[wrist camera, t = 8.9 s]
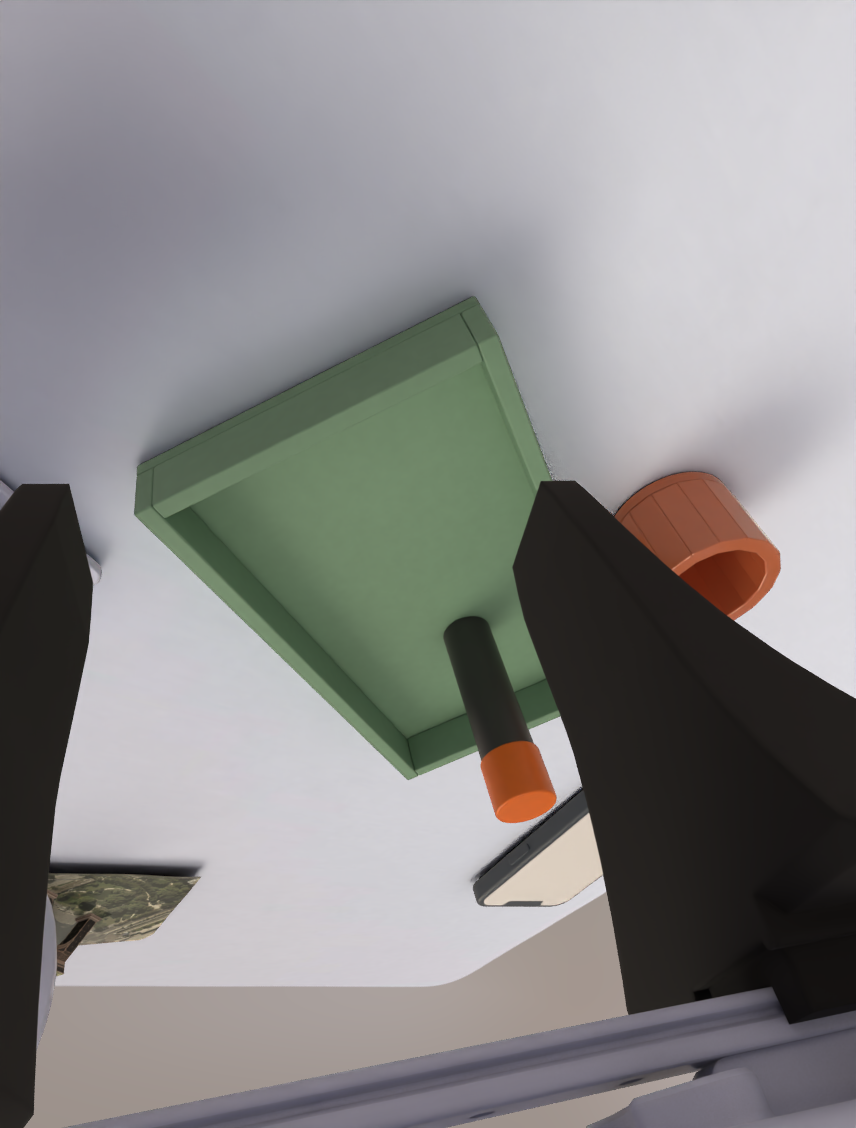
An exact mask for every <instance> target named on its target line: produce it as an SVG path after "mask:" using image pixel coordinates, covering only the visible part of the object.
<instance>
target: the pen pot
mask: <svg viewBox="0 0 856 1128" xmlns="http://www.w3.org/2000/svg"><path fill="white" fill-rule="evenodd" d="M614 517H615V518H616V519H617V520H618V521H619V522H620V523H621V524H622V525H623V526H624V527H625V528H626V529H628V530H629V531H630V532H631V533H632V534H633V535H634V536H635V537H636V538H637V539H638V540H639V541H640V542H641V543H642V544H644V545H645V546H646V547H647V548H648V549H649V550H650V551H651V552H652V553H653V554H654V555H656V556H657V557H658V558H659V559H660V560H661V561H662V562H663V563H664V564H666V565H667V566H668V567H669V568H670V569H671V570H672V571H673V572H675V573H676V574H677V575H678V576H679V577H680V578H682V579H683V580H684V581H685V582H686V583H687V584H689V585H690V586H691V587H692V588H693V589H695V590H696V591H697V592H698V593H700V594H701V595H702V596H703V597H704V598H706V599H707V600H708V601H709V602H711V603H712V604H713V605H714V606H715V607H717V608H718V609H719V610H721V611H722V612H723V613H724V614H726V615H727V616H728V617H730V618H731V619H732V620H736V619H737V618H739V617H740V616H741V615H743V614H744V613H746V612H747V611H749V610H750V609H752V608H753V607H754V606H755V605H756V604H757V603H758V602H759V601H760V600H761V599H762V598H763V597H764V596H765V595H766V594H767V593H768V592H769V591H770V589H771V588H772V587H773V585H774V583H775V581H776V579H777V577H778V575H779V573H780V569H781V565H780V553H779V550H778V549H777V548H776V547H775V545H774V544H773V543H772V542H771V540H770V539H769V538H768V537H767V535H766V534H765V533H764V532H763V530H762V529H761V528H760V527H759V526H758V524H757V523H756V522H755V521H754V519H753V518H752V517H751V516H750V514H749V513H748V512H747V511H746V509H745V508H744V507H743V506H742V504H741V503H740V502H739V501H738V499H737V498H736V497H735V496H734V495H733V494H732V493H731V491H730V490H729V489H728V488H727V487H726V486H725V484H724V483H723V482H722V481H721V480H720V479H718V478H717V477H715V476H713V475H710V474H707V473H702V472H684V473H678V474H674V475H671V476H667V477H665V478H662V479H660V480H657V481H655V482H653V483H651V484H649V485H648V486H646V487H645V488H643V489H641V490H640V491H639V492H637V493H636V494H635V495H633V496H632V497H631V498H630V499H629V500H628V501H627V502H626V503H625V504H624V505H623V506H622V507H621V508H620V509H619V511H618V512H617V513H616V515H615V516H614Z"/></svg>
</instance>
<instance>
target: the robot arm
mask: <svg viewBox="0 0 856 1128" xmlns="http://www.w3.org/2000/svg"><path fill="white" fill-rule="evenodd" d="M512 568H513V573H514V578H515V583H516V587H517V592H518V597H519V601H520V605H521V609H522V613H523V617H524V621H525V623H526V626H527V629H528V632H529V634H530V637H531V640H532V642H533V645H534V648H535V651H536V653H537V656H538V659H539V661H540V664H541V666H542V669H543V672H544V674H545V677H546V679H547V682H548V685H549V687H550V690H551V692H552V695H553V698H554V700H555V703H556V705H557V708H558V711H559V713H560V716H561V719H562V721H563V724H564V726H565V729H566V732H567V735H568V738H569V741H570V744H571V747H572V750H573V753H574V756H575V760H576V764H577V768H578V772H579V775H580V779H581V783H582V787H583V791H584V794H585V798H586V802H587V806H588V810H589V814H590V819H591V823H592V827H593V831H594V836H595V840H596V844H597V848H598V853H599V857H600V862H601V867H602V872H603V876H604V881H605V886H606V891H607V896H608V901H609V906H610V911H611V916H612V921H613V927H614V933H615V939H616V944H617V950H618V956H619V962H620V968H621V974H622V980H623V987H624V993H625V999H626V1007H627V1011H628V1014H629V1015H626V1016H622V1017H616V1018H611V1019H606V1020H602V1021H596V1022H592V1023H586V1024H581V1025H576V1026H571V1027H566V1028H561V1029H556V1030H551V1031H546V1032H541V1033H536V1034H531V1035H526V1036H522V1037H516V1038H511V1039H506V1040H501V1041H496V1042H491V1043H486V1044H481V1045H476V1046H471V1047H466V1048H461V1049H456V1050H451V1051H446V1052H441V1053H436V1054H430V1055H426V1056H420V1057H415V1058H410V1059H406V1060H401V1061H395V1062H390V1063H385V1064H380V1065H375V1066H370V1067H365V1068H360V1069H355V1070H350V1071H345V1072H340V1073H335V1074H330V1075H325V1076H320V1077H315V1078H310V1079H305V1080H300V1081H295V1082H290V1083H285V1084H280V1085H275V1086H270V1087H265V1088H260V1089H255V1090H250V1091H245V1092H240V1093H234V1094H230V1095H225V1096H219V1097H215V1098H210V1099H204V1100H199V1101H194V1102H189V1103H184V1104H180V1105H175V1106H169V1107H164V1108H159V1109H154V1110H150V1111H144V1112H139V1113H134V1114H129V1115H124V1116H119V1117H114V1118H109V1119H104V1120H99V1121H94V1122H89V1123H84V1124H79V1125H74V1126H69V1127H64V1128H446V1127H451V1126H455V1125H460V1124H464V1123H469V1122H473V1121H477V1120H482V1119H486V1118H491V1117H495V1116H500V1115H504V1114H509V1113H513V1112H517V1111H522V1110H526V1109H531V1108H535V1107H540V1106H544V1105H549V1104H553V1103H558V1102H562V1101H567V1100H571V1099H575V1098H580V1097H584V1096H589V1095H593V1094H597V1093H602V1092H606V1091H611V1090H616V1089H619V1088H624V1087H629V1086H633V1085H638V1084H642V1083H646V1082H651V1081H656V1080H660V1079H664V1078H669V1077H673V1076H678V1075H682V1074H686V1073H691V1072H695V1071H698V1072H696V1074H695V1076H694V1078H693V1080H692V1081H690V1082H686V1083H683V1084H680V1085H677V1086H673V1087H670V1088H666V1089H663V1090H660V1091H657V1092H653V1093H650V1094H647V1095H644V1096H641V1097H637V1098H634V1099H633V1100H632V1102H631V1103H630V1104H629V1106H628V1107H626V1108H624V1109H622V1110H620V1111H619V1112H617V1113H615V1114H613V1115H611V1116H609V1117H607V1118H605V1119H602V1120H600V1121H597V1122H595V1123H593V1124H590V1125H588V1126H587V1127H586V1128H856V699H855V698H854V697H852V696H850V695H848V694H847V693H845V692H843V691H841V690H839V689H838V688H836V687H834V686H832V685H831V684H829V683H827V682H826V681H824V680H822V679H821V678H819V677H818V676H816V675H814V674H813V673H811V672H809V671H808V670H806V669H804V668H803V667H801V666H800V665H798V664H796V663H795V662H793V661H791V660H790V659H788V658H787V657H785V656H784V655H782V654H781V653H779V652H778V651H776V650H775V649H773V648H772V647H770V646H769V645H767V644H766V643H765V642H763V641H762V640H760V639H759V638H758V637H756V636H755V635H753V634H752V633H750V632H749V631H748V630H746V629H745V628H743V627H742V626H741V625H739V624H738V623H736V622H735V621H734V620H732V619H731V618H730V617H728V616H727V615H726V614H724V613H723V612H722V611H721V610H719V609H718V608H717V607H715V606H714V605H713V604H712V603H711V602H709V601H708V600H707V599H706V598H704V597H703V596H702V595H701V594H700V593H698V592H697V591H696V590H695V589H693V588H692V587H691V586H690V585H689V584H687V583H686V582H685V581H684V580H683V579H682V578H680V577H679V576H678V575H677V574H676V573H675V572H673V571H672V570H671V569H670V568H669V567H668V566H667V565H666V564H664V563H663V562H662V561H661V560H660V559H659V558H658V557H657V556H656V555H654V554H653V553H652V552H651V551H650V550H649V549H648V548H647V547H646V546H645V545H644V544H642V543H641V542H640V541H639V540H638V539H637V538H636V537H635V536H634V535H633V534H632V533H631V532H630V531H629V530H628V529H626V528H625V527H624V526H623V525H622V524H621V523H620V522H619V521H618V520H617V519H616V518H615V517H614V516H613V515H612V514H611V513H610V512H609V511H607V510H606V509H605V508H604V507H603V506H602V505H601V504H600V503H599V502H598V501H597V500H596V499H595V498H594V497H593V496H591V495H590V494H589V493H588V492H587V491H586V490H585V489H584V488H583V487H581V486H580V485H579V484H578V483H577V482H576V481H541V482H540V485H539V488H538V491H537V494H536V497H535V500H534V503H533V506H532V509H531V512H530V515H529V518H528V521H527V524H526V527H525V530H524V533H523V536H522V539H521V542H520V545H519V548H518V551H517V554H516V557H515V560H514V563H513V566H512ZM101 575H102V569H101V566H100V565H99V564H98V563H97V562H96V561H95V560H93V559H92V558H91V557H90V556H89V555H88V554H86V551H85V547H84V543H83V539H82V535H81V531H80V527H79V523H78V518H77V514H76V510H75V506H74V502H73V498H72V494H71V490H70V486H69V484H22V485H21V486H20V487H18V488H17V489H16V490H15V491H12V490H11V489H10V488H9V487H8V486H7V485H5V484H4V483H3V482H2V481H1V480H0V1128H24V1126H25V1125H26V1124H27V1123H28V1121H29V1120H30V1119H31V1117H32V1116H33V1115H34V1114H33V1113H34V1089H35V1088H34V1086H35V1066H36V1050H37V1048H38V1045H39V1042H40V1040H41V1037H42V1034H43V1031H44V1028H45V1025H46V1022H47V1018H48V1015H49V1011H50V1007H51V1002H52V998H53V992H54V987H55V979H56V969H57V943H56V925H55V919H54V915H53V910H52V905H51V902H50V900H49V898H48V895H47V887H48V875H49V865H50V855H51V845H52V835H53V825H54V815H55V806H56V800H57V794H58V788H59V782H60V776H61V771H62V767H63V762H64V757H65V753H66V748H67V743H68V739H69V734H70V729H71V725H72V720H73V715H74V711H75V706H76V702H77V697H78V692H79V687H80V683H81V678H82V673H83V668H84V663H85V659H86V654H87V649H88V644H89V632H90V621H91V607H92V592H93V586H94V585H96V584H97V583H98V582H99V581H100V579H101Z"/></svg>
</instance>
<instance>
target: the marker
mask: <svg viewBox="0 0 856 1128" xmlns="http://www.w3.org/2000/svg"><path fill="white" fill-rule="evenodd" d="M443 639H444V643H445V646H446V649H447V652H448V655H449V659H450V662H451V665H452V668H453V671H454V675H455V678H456V681H457V684H458V687H459V690H460V694H461V697H462V700H463V703H464V706H465V710H466V713H467V716H468V719H469V722H470V726H471V729H472V732H473V735H474V738H475V742H476V745H477V748H478V751H479V754H480V758H481V770H482V773H483V776H484V780H485V783H486V786H487V789H488V793H489V796H490V799H491V802H492V805H493V809H494V812H495V815H496V817H497V818H498V819H499V820H500V821H502V822H506V823H518V822H524V821H528V820H531V819H534V818H536V817H538V816H540V815H542V814H544V813H546V812H547V811H548V810H550V809H551V808H552V807H553V806H554V804H555V802H556V793H555V791H554V788H553V786H552V783H551V780H550V778H549V775H548V772H547V770H546V767H545V764H544V762H543V759H542V756H541V754H540V751H539V749H538V747H537V746H536V745H535V744H534V743H533V740H532V738H531V735H530V732H529V730H528V727H527V724H526V722H525V719H524V716H523V714H522V711H521V708H520V706H519V703H518V700H517V698H516V695H515V692H514V690H513V687H512V684H511V682H510V679H509V676H508V674H507V671H506V668H505V666H504V663H503V660H502V658H501V655H500V652H499V650H498V647H497V644H496V642H495V639H494V636H493V634H492V631H491V628H490V626H489V623H488V622H487V621H486V620H485V619H483V618H481V617H477V616H469V617H464V618H461V619H458V620H456V621H455V622H453V623H452V624H450V625H449V626H448V627H447V628H446V630H445V632H444V635H443Z"/></svg>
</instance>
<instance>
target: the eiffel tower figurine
mask: <svg viewBox="0 0 856 1128" xmlns="http://www.w3.org/2000/svg"><path fill="white" fill-rule="evenodd" d="M200 878H201V877H170V876H155V875H135V874H66V873H49V875H48V887H47V895H48V898H49V900H50V902H51V905H52V910H53V915H54V919H55V925H56V943H57V969H56V976H59V975H62V974H64V965H65V961H66V960H67V959H68V958H69V956H70V955H71V954H72V953H73V951H74V950H75V949H76V948H77V946H78V945H87V944H98V943H109V942H120V941H133V940H141V939H144V938H146V937H148V936H150V935H152V934H154V932H155V931H156V930H157V929H158V928H159V926H160V925H161V924H162V923H163V921H164V920H165V919H166V918H167V917H168V915H169V914H170V913H171V912H172V911H173V910H174V908H175V907H176V906H177V905H178V904H179V903H180V902H181V900H182V899H183V898H184V897H185V896H186V895H187V893H188V892H189V891H190V890H191V889H192V887H193V886H194V885H195V884H196V883H197V881H198V880H199V879H200Z"/></svg>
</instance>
